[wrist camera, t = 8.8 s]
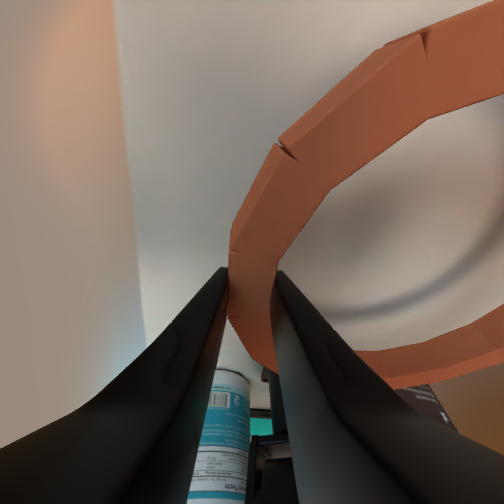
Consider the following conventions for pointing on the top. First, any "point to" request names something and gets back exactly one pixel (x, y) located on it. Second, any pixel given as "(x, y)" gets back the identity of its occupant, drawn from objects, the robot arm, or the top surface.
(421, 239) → the top surface
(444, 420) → the box
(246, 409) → the pill bottle
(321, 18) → the top surface
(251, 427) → the smartphone
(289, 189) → the ring
